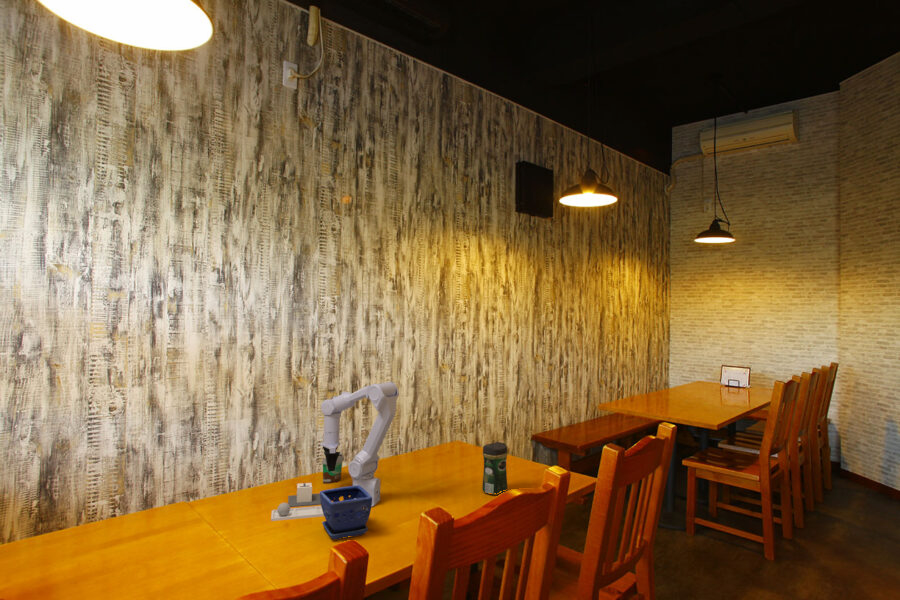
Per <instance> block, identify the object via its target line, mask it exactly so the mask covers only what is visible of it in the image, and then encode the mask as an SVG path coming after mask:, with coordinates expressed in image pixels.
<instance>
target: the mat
mask: <svg viewBox="0 0 900 600" xmlns="http://www.w3.org/2000/svg"><path fill="white" fill-rule="evenodd" d="M287 500H288V501H287V503H288V504H289V506H290V508H300V507H312V506H321V501H320V492H319V493H312V501H311V502H298V503H297V494H295V495H288V498H287Z"/></svg>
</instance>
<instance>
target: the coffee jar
mask: <svg viewBox="0 0 900 600" xmlns="http://www.w3.org/2000/svg"><path fill="white" fill-rule="evenodd" d="M482 457H483V475H482V489H481V490H483V491H484V492H486V493H492V494H494V493H496V494H497V493H499V492H500V491H502V492H501V493H502V494H504V493H506V492H507V491H508V478H507V477H508V475H507V473H508V472H507V457H508V446H507V444H506V443H504V442H501V441H496V442H492V443H488V444H485V445H483V446H482ZM506 489H507V490H506ZM503 490H506V492H505V491H503ZM483 491H482V492H483ZM484 492H483V493H484ZM503 492H504V493H503ZM486 493H485V494H486ZM501 493H499V495H502V494H501Z"/></svg>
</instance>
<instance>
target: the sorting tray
mask: <svg viewBox="0 0 900 600" xmlns="http://www.w3.org/2000/svg"><path fill="white" fill-rule="evenodd" d="M318 517H319V518H320V517H325V516H324V514H323V511H322V507H321V505H314V506H302V507H291V508H290V512H289V513H288V514H287V515H285V516H281V515H279V513H278V509H273V510H272V509H271V517H270V521H271V522H274V521H275V522H276V521H277V522H278V521H284V520H285V521H287V520H296V519H308V518H318Z"/></svg>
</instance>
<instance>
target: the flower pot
mask: <svg viewBox="0 0 900 600" xmlns="http://www.w3.org/2000/svg"><path fill="white" fill-rule="evenodd" d="M319 493H320V501H321V505H320V506H321V507H322V511H323V514H324V516H323V517H324V519H325V520H324V521H321V524H322V526H323V527H324V529H325V530H326V533H327V534H328V535H329V537H330V539H332V540H333V539H337V540H340V539H339V538H343V537H348V536H354V537H358V536H357V535H359V536H362V535H364V534H365V533H366V532H368V529H369V528H368V526H367V525H366V524H367V523H368V520H369V517H370V514H371V511H372V507H371V506H372V497H371V495H370V494H369V493H368V492H367V491H365V490H364V489H363V488H362V487H361V486H359V485H355V486H353V485H349V486H341V487H336V488H330V489H325V490H321V491H319ZM341 497H343V499H342V500H340V498H341ZM354 498H356V499H354ZM343 539H344V538H343Z"/></svg>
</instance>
